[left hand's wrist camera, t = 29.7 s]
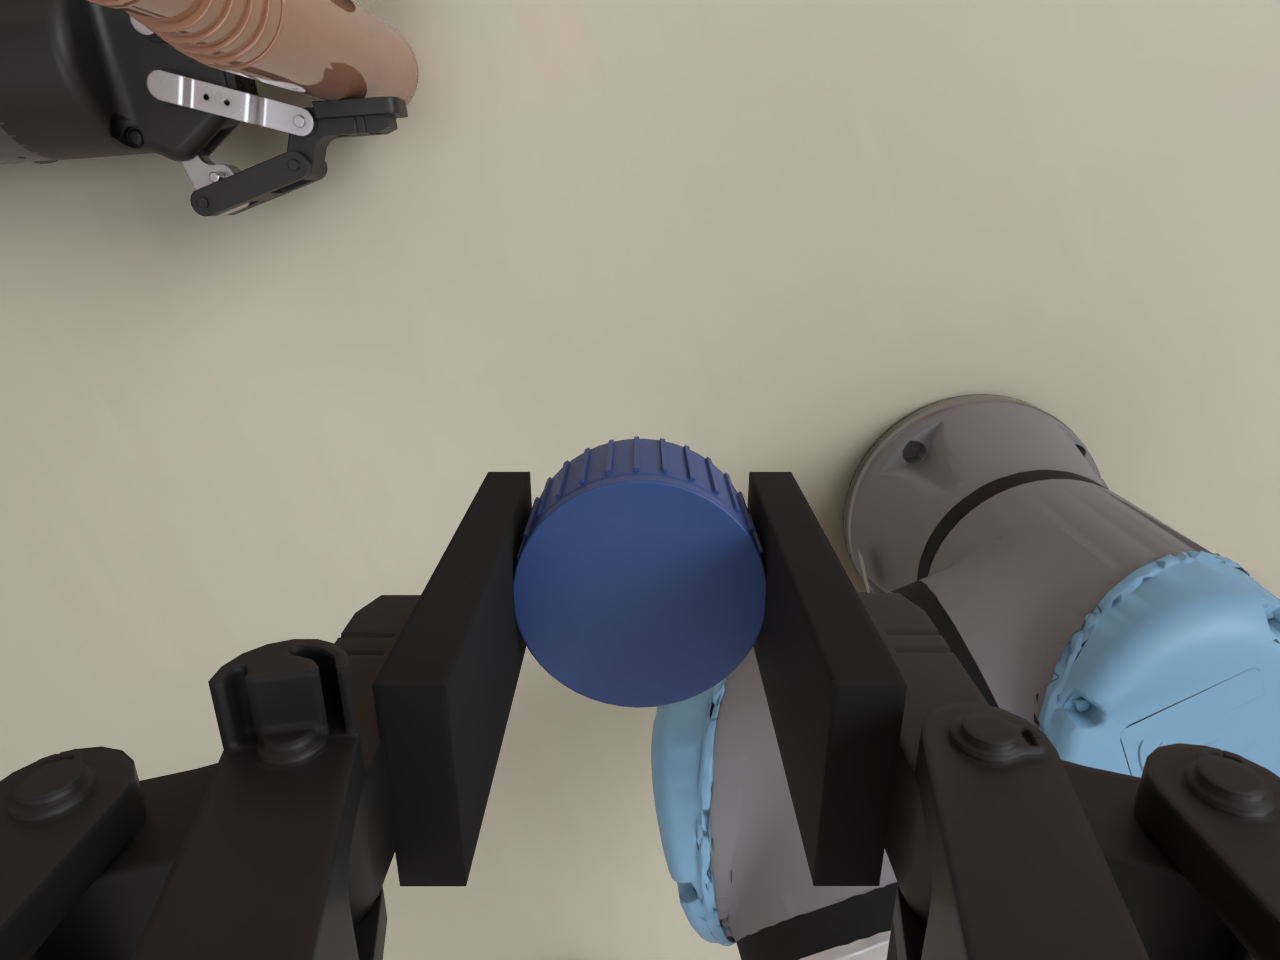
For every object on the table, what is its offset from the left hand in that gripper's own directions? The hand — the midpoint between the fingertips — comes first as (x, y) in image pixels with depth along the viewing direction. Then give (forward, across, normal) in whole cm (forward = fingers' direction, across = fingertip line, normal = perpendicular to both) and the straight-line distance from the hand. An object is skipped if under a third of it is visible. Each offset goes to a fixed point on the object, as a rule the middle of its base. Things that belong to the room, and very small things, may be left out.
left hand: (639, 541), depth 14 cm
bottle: (+33, +14, -12) cm, 38 cm away
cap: (-2, 0, 0) cm, 2 cm away
